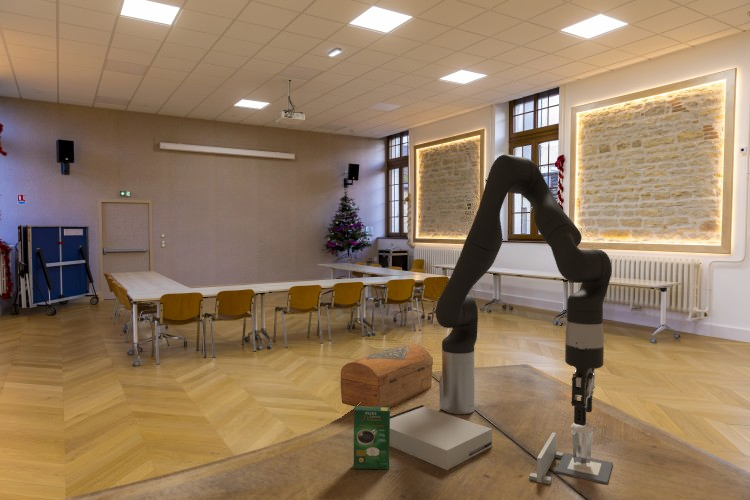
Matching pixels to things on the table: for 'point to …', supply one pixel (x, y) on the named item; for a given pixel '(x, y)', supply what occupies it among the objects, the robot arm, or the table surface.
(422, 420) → the disc drive
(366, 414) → the coffee box
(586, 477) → the mat
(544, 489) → the table surface
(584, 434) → the milkshake
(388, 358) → the wooden box
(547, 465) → the divider wall
